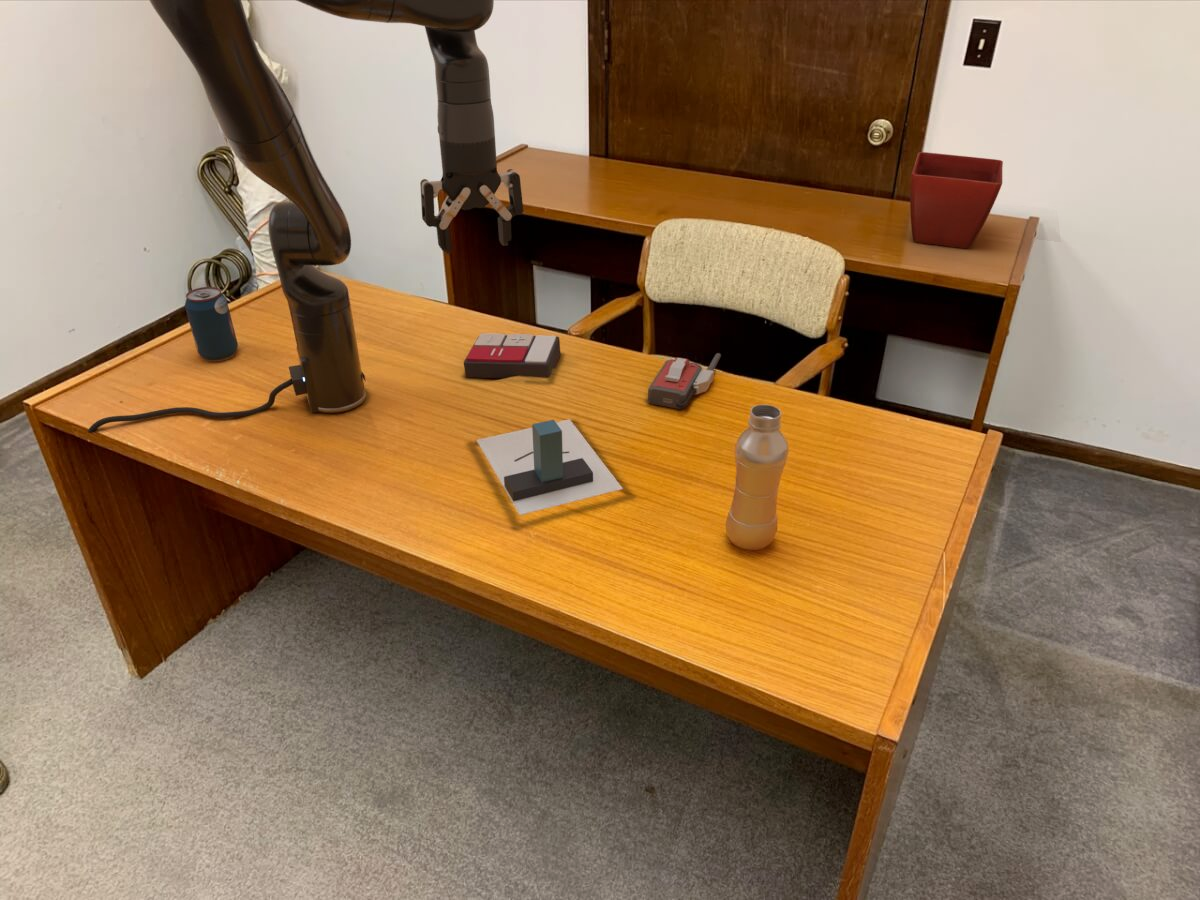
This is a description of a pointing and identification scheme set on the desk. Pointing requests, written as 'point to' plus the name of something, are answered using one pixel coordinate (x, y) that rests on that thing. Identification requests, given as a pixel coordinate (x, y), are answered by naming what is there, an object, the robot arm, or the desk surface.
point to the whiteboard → (517, 457)
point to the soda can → (211, 323)
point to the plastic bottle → (757, 479)
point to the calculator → (512, 356)
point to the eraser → (547, 466)
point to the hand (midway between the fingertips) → (476, 247)
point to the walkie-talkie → (680, 382)
